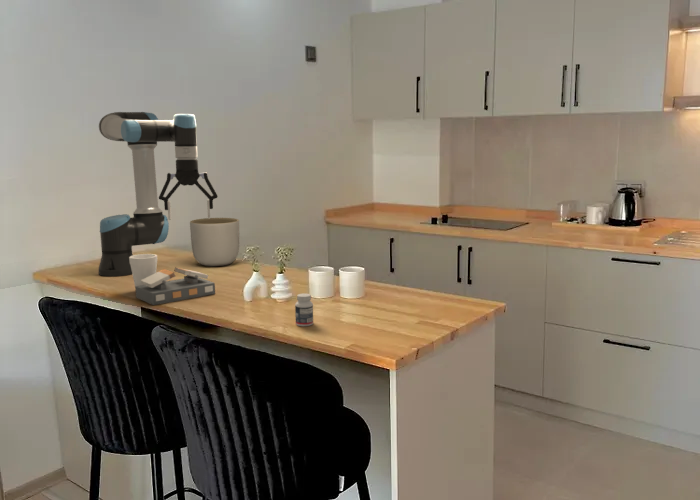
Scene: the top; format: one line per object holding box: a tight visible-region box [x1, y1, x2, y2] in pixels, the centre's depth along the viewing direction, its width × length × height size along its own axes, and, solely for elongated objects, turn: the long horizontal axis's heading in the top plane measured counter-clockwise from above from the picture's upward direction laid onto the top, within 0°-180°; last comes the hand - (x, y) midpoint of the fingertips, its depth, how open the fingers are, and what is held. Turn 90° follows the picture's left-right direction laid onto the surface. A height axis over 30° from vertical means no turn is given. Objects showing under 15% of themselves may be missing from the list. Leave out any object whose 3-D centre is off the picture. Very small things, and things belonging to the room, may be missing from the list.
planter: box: [189, 217, 240, 267], centre depth 282 cm, size 21×21×19 cm
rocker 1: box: [141, 268, 176, 288], centre depth 223 cm, size 8×9×2 cm
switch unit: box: [134, 275, 216, 306], centre depth 228 cm, size 14×23×6 cm, turn 131°
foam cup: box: [129, 253, 158, 287], centre depth 233 cm, size 10×9×13 cm
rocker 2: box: [173, 266, 209, 280], centre depth 231 cm, size 8×9×2 cm
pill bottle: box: [294, 293, 314, 327], centre depth 192 cm, size 5×5×9 cm
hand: (189, 218), depth 233 cm, fingers open, 13 cm apart
